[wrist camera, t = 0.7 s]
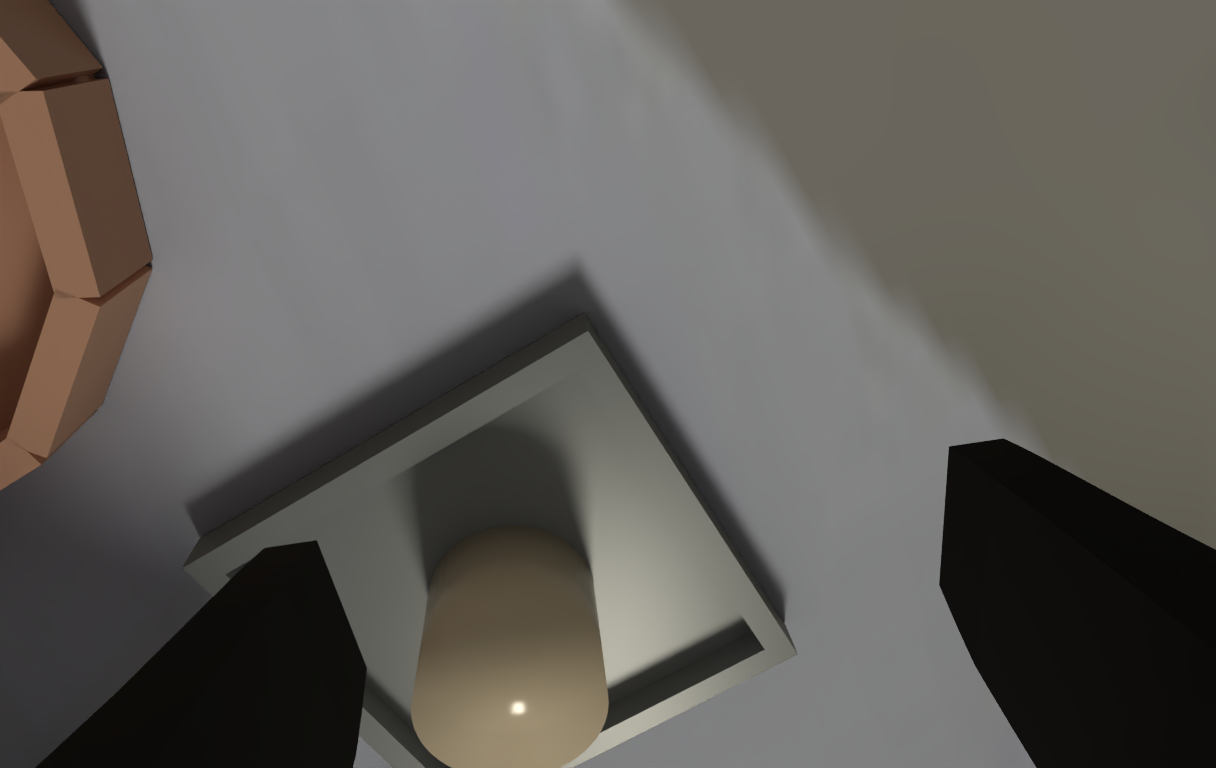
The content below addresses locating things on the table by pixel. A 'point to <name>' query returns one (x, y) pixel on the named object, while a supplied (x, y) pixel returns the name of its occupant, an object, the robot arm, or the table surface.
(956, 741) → the table surface
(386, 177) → the table surface
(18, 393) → the orange shallow dish
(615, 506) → the tray
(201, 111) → the table surface
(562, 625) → the cream domed cylinder
